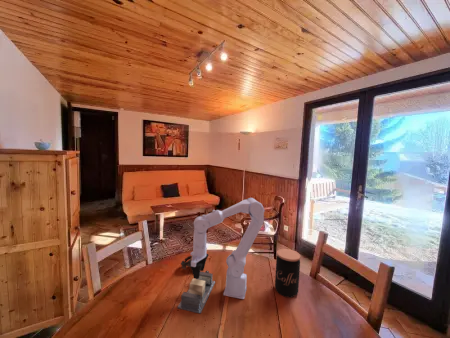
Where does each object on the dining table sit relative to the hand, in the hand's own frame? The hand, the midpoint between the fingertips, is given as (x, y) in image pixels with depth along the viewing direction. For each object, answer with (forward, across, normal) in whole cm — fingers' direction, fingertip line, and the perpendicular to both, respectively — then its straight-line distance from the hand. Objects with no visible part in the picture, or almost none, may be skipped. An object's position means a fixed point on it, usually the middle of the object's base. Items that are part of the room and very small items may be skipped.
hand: (198, 274), depth 88 cm
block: (+9, 0, 0) cm, 9 cm away
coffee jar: (+10, -14, +39) cm, 43 cm away
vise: (+9, 0, 0) cm, 9 cm away
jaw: (+9, -10, 0) cm, 13 cm away
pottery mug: (+10, -18, -10) cm, 23 cm away
